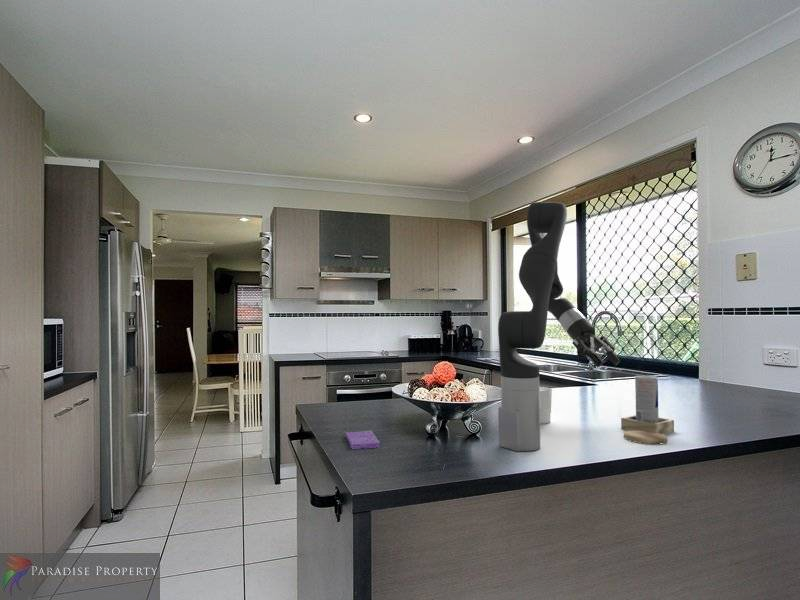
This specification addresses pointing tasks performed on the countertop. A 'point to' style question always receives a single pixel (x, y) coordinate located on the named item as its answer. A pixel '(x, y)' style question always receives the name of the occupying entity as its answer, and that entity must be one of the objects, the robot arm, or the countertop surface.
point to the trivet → (645, 437)
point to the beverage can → (646, 399)
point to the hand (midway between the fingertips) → (609, 364)
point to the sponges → (362, 440)
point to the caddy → (647, 425)
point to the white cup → (545, 404)
